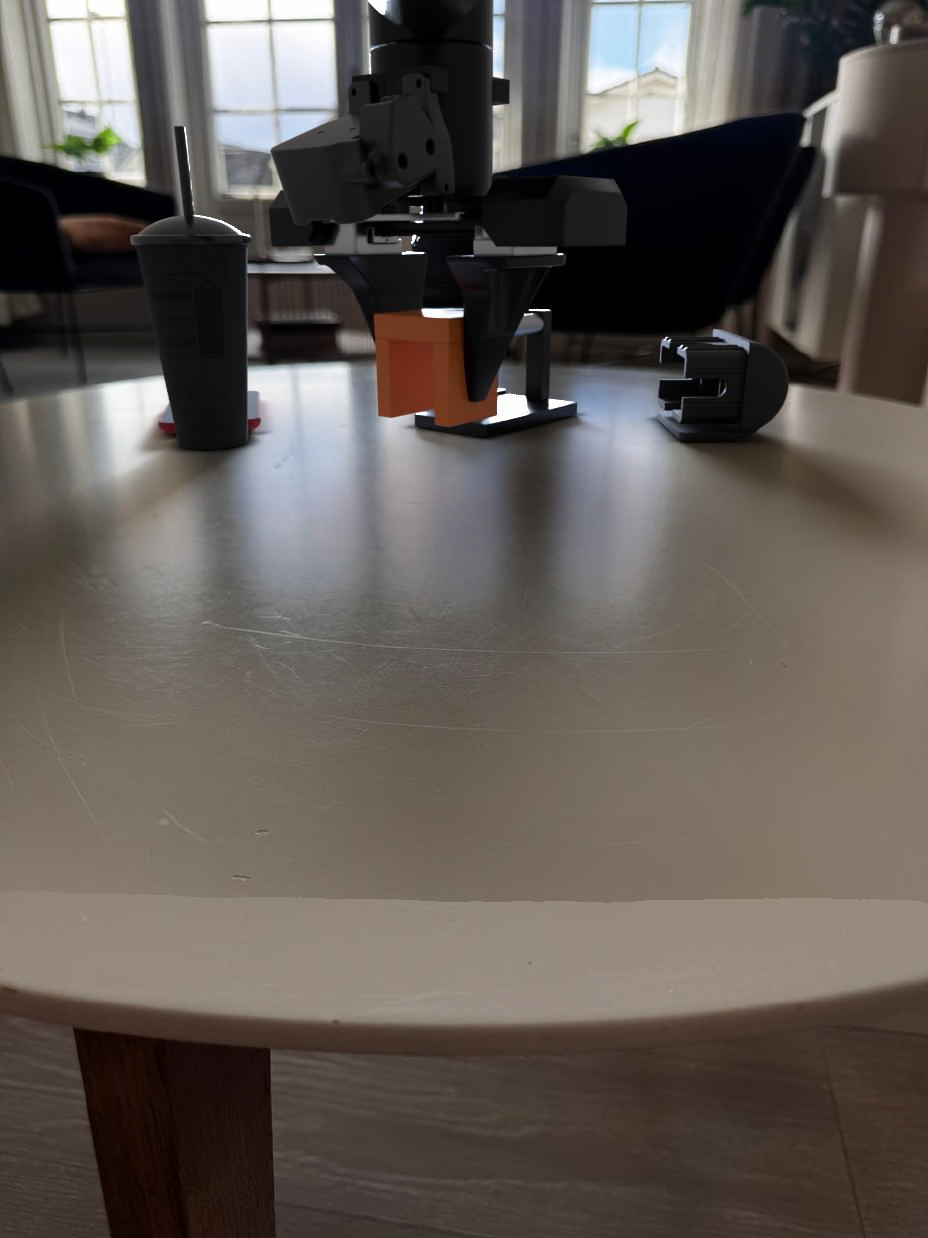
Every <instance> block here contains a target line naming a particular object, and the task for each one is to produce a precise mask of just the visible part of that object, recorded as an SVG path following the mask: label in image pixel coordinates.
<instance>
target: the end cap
mask: <svg viewBox="0 0 928 1238" xmlns="http://www.w3.org/2000/svg"><path fill="white" fill-rule="evenodd" d="M659 352H660V354H659V363H661V364H674V363H675V364H678V363H679V364H681V363H683V364H684V371H683V378H658V381H657V395H656V400H657V404H658V405H659V406H660V407H661V410H658V411H657V413H656V414H657V415H656V416H657V417H656V419H657V421H659V422H660V423H661V424H662V425H663V426H664V427H665V428H666V429H667V430H668V431H669V432H670V433H671V434H672V435H673V436H674V437H675V438H676V439H677V440H678V441H681V442H689V443H697V442H699V443H705V442H709V443H711V442H714V443H715V442H716V443H717V442H719V443H720V442H725V443H727V442H730V443H731V442H737V441H738V442H739V441H741V440H745V439H747V438H749V437H750V436H752V435H753V434H754V433H756V432H757V431H759V430H760V429H762V428H763V427H764V426H766V425H767V424H769V423H770V422H772V420H773V419H774V418H776V416H777V415H778V414H779V413H780V411H781V410H782V408H783V407H784V404H785V402H786V400H787V396H788V392H789V385H790V384H789V383H790V378H789V373H788V372H789V371H788V369H787V367H786V364H785V362H784V360H783V359H782V357H781V356H780V355H779V354H778V353H777V352H776V351H775V350H774V349H772V348H770V347H769V346H767V345H765V344H763V343H760V342H757V341H754V340H753V339H749V338H746V337H743V336H741V335H738V334H735V333H733V332H729V331H727V330H724V329H718V328H713V331H712V336H666V337H665V338H662V339H661V342H660V351H659ZM662 409H663V410H662Z"/></svg>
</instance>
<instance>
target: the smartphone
mask: <svg viewBox="0 0 928 1238" xmlns="http://www.w3.org/2000/svg"><path fill="white" fill-rule="evenodd" d="M261 422H262V413H261V394H260V392H259V391H258V390H248V431H250V430H255V429H257V428H259V426H260V425H261ZM158 427H159V429H160V430H161V431H162V432H164V433H165V434H168V435H176V431H175V426H174V421H173V417H172V412H171V407H170V403H169V402H168V405H167V406H166V408H165V410H164V412H163V413H162V415H161V417H160V419H159V421H158Z"/></svg>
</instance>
